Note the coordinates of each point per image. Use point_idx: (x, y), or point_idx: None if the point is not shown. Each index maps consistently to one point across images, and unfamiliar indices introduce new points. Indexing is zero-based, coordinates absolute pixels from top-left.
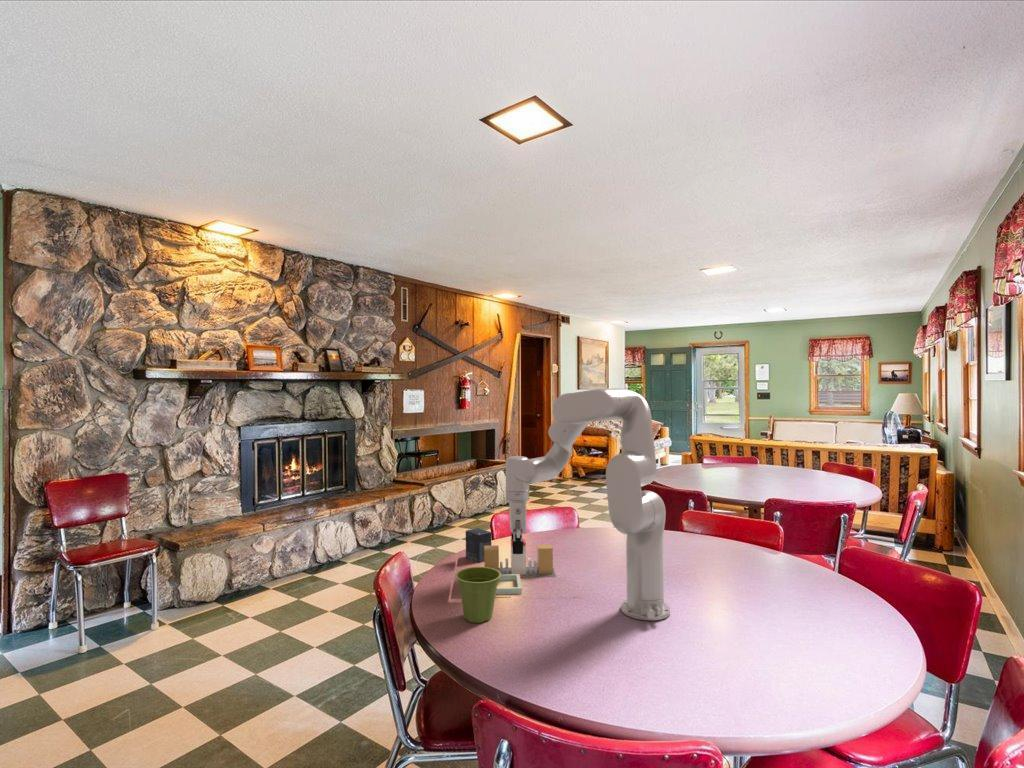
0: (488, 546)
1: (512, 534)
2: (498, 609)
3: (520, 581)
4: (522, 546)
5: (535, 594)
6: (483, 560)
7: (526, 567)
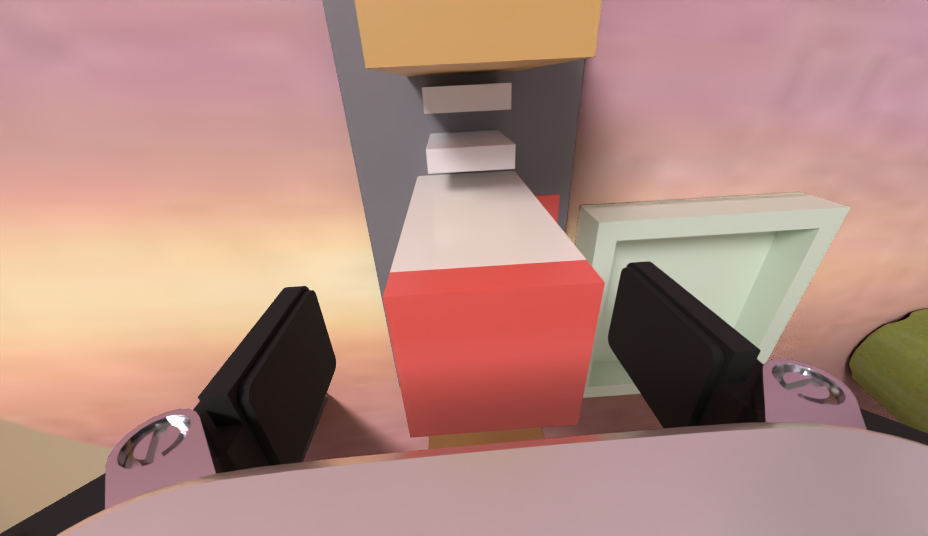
0: None
1: (298, 458)
2: (874, 288)
3: (736, 215)
4: (695, 306)
5: (800, 110)
6: None
7: (366, 164)
